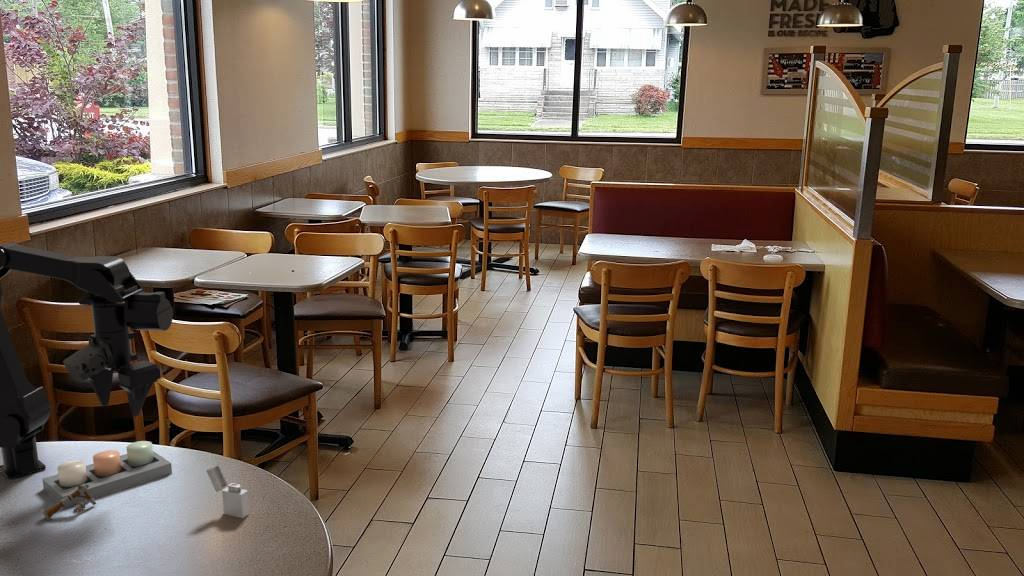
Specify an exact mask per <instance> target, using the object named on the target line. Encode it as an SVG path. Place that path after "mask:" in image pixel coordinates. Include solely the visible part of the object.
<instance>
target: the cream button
mask: <svg viewBox="0 0 1024 576" xmlns="http://www.w3.org/2000/svg"><path fill="white" fill-rule="evenodd" d="M86 466H87V465H86V462H85V461H84V460H81V459H80V460H79V459H78V460H69V461H65V462H63V463H61V464H59V465H58V466H57V474H58V476H59V483H60V485H61V486H64V487H68V488H73V487H76V486H79V485H83V484H85V483H84V482H86V481H87V473H86Z"/></svg>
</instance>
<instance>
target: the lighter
mask: <svg viewBox="0 0 1024 576" xmlns="http://www.w3.org/2000/svg"><path fill="white" fill-rule="evenodd" d="M206 474H207V476H208V478H209V480H210V483H211V484H212V486H213V489H214V491H215V492H218V493H219V492H220V491H222V492H221V493H222V504H223V505H222V506H223V514H224V515H227V516H231V517H236V518H240V519H244V518H246V517H248V516H249V515H250V508H249V495H248V494H249V493H248V492H249V491H248V490H247V489H242V487H241V484H239V483H236V482H235V483H234V482H231V483H228V482H227V480H226V477H225V475H224V473H223V471H222V469H221V467H220V465H219V464H214V465H212V466H210V467H209V468H207V469H206Z"/></svg>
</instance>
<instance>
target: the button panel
mask: <svg viewBox="0 0 1024 576" xmlns="http://www.w3.org/2000/svg"><path fill="white" fill-rule="evenodd" d="M153 458H154V459H153V461H152V462H150V463H148V464H145V465H140V466H132V465H129V464H128V457H127V453H125V454H120V462H121V470H120V471H119V472H118V473H116V474H113V475H108V476H98V475H96V474H95V471H94V463H91V464H88V465H86V473H87V481H86V482H84V483H83V484H84V485H85V484H87V483H88V484H89V485H90V486H89V487H88V490H86V491H87V493H88V494H89V495H90V496H91V497H92V498H93V499H95V498H99V497H102V496H105V495H109V494H111V493H114V492H118V491H121V490H124V489H126V488H130V487H132V486H136V485H139V484H142V483H145V482H148V481H152V480H154V479H157V478H160V477H164V476H167V475H170V474H172V473H173V468H172V462H170V461H169V460H168V459H166V458H165V457H163V456H161V455H160V454H158V453H157V452H156V451H154V450H153ZM41 479H42V487H43V491H45V492H47V494H48V495H50V496H51V497H52V498H53V499H54V500H55V501H56V502H57V503H59V502H61V500H62V499H64V498H65V497H66V496H67V497H68V496H69V494H70V495H71V494H72V493H73V492H75V491H76V490H77V488H78V486H79V485H77V486H72V487H64V486H61V485H60V483H59V476H58V473H57V474H54V475H49V476H46V477H44V478H43V477H42V478H41ZM83 484H80V485H81V486H82V485H83ZM67 488H68V489H67ZM80 495H82V496H85V494H84V493H82V494H80ZM84 501H85V502H86V501H88V499H87V498H83V497H76V498H75V499H74V500H73V501H71V503H69V504H67V505H66V506H63V507H62V508H67V507H70V506H73V505H74V506H75V505H78V504H80V502H82V503H84Z"/></svg>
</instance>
